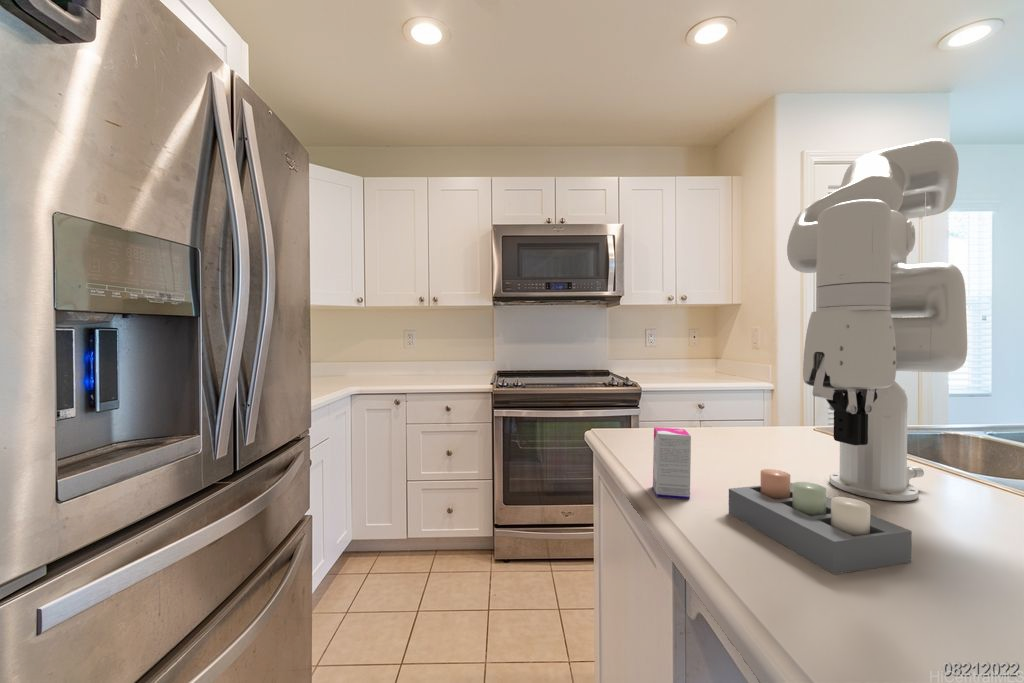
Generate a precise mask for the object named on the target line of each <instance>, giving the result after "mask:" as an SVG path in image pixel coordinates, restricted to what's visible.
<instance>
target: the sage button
mask: <svg viewBox="0 0 1024 683" xmlns="http://www.w3.org/2000/svg"><path fill="white" fill-rule="evenodd" d="M792 483H793V496H792V508H794V509H796V510H798V511H800V512H802V513H804V514H806V515H809V516H816V515H825V514H826V497H827V488H826V487H825V486H823V485H820V484H818V483H814V482H808V481H795V482H792Z"/></svg>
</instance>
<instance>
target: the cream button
mask: <svg viewBox="0 0 1024 683" xmlns="http://www.w3.org/2000/svg"><path fill="white" fill-rule="evenodd" d="M870 515H871V505H870V503H869V504H868V503H867V502H865V501H863V500H861V499H855V498H852V497H848V496H847V497H845V496H833V497H832V498H831V526H832V527H834V528H836V529H839V530H841V531H843V532H845V533H847V534H849V535H851V536H861V535H869V534H870Z"/></svg>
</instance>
